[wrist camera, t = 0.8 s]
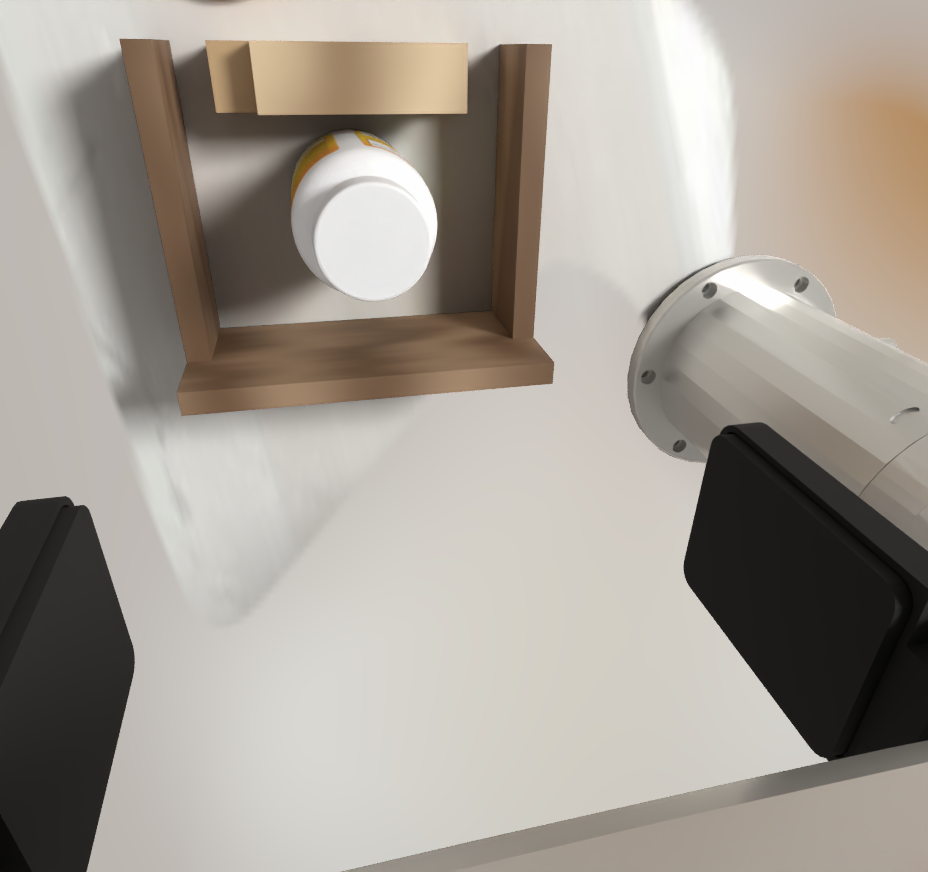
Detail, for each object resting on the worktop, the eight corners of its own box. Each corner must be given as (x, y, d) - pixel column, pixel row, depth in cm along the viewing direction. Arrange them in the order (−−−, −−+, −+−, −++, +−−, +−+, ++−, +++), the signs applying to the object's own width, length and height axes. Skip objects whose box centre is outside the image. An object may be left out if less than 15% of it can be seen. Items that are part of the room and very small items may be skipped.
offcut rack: (522, 45, 29) (580, 44, 23) (509, 327, 36) (552, 383, 30) (141, 40, 26) (98, 37, 20) (202, 349, 33) (181, 415, 27)
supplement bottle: (304, 259, 32) (308, 333, 24) (279, 135, 29) (273, 169, 21) (417, 243, 33) (459, 310, 24) (403, 121, 30) (445, 148, 22)
